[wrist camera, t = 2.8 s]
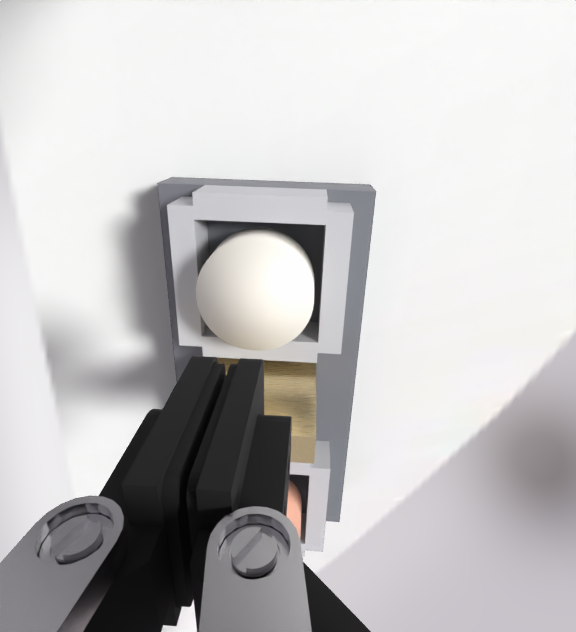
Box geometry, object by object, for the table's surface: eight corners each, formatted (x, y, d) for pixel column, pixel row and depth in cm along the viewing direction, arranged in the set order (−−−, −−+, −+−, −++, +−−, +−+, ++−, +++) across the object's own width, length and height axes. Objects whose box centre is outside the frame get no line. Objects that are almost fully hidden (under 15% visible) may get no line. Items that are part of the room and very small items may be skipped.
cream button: (205, 224, 17) (191, 237, 15) (317, 229, 17) (317, 243, 15) (210, 325, 19) (199, 347, 17) (311, 330, 18) (311, 353, 17)
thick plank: (212, 345, 20) (173, 428, 15) (316, 351, 20) (316, 437, 15) (213, 367, 21) (176, 454, 15) (314, 373, 21) (314, 463, 15)
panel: (172, 177, 19) (139, 190, 16) (370, 184, 19) (382, 199, 15) (198, 490, 28) (180, 546, 24) (337, 500, 27) (340, 559, 24)
